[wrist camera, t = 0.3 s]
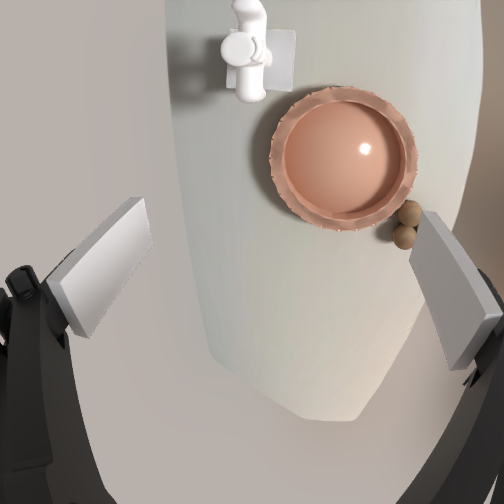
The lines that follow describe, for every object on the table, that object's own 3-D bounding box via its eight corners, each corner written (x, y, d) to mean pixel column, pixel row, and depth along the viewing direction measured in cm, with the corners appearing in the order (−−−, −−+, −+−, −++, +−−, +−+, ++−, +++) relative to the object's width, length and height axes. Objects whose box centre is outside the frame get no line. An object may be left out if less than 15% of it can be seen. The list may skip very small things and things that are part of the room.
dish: (270, 81, 31) (268, 81, 29) (417, 98, 28) (426, 100, 26) (270, 217, 41) (268, 226, 39) (398, 226, 39) (403, 236, 36)
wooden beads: (397, 194, 36) (405, 205, 33) (438, 200, 35) (448, 211, 32) (387, 240, 40) (393, 253, 37) (426, 243, 39) (434, 256, 36)
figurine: (232, 95, 33) (191, 107, 20) (236, 25, 27) (195, -4, 15) (292, 99, 32) (287, 112, 20) (297, 28, 27) (294, -6, 14)
